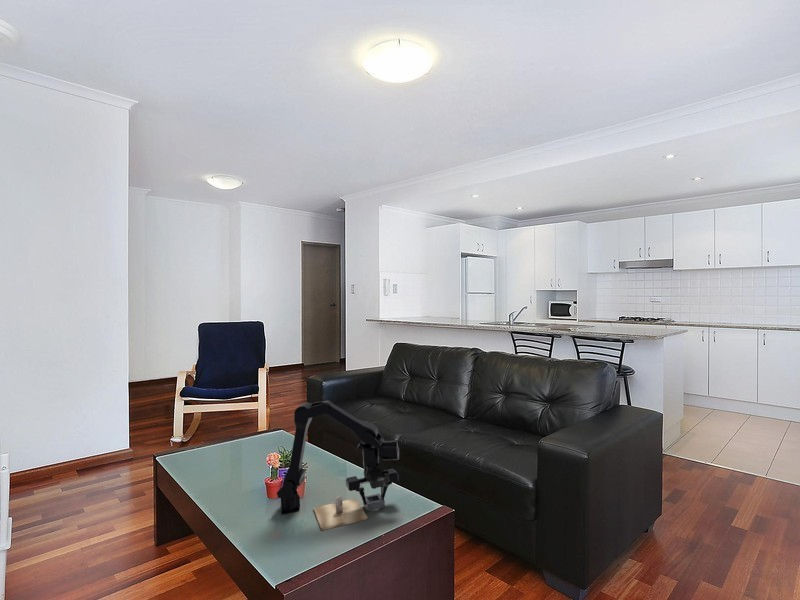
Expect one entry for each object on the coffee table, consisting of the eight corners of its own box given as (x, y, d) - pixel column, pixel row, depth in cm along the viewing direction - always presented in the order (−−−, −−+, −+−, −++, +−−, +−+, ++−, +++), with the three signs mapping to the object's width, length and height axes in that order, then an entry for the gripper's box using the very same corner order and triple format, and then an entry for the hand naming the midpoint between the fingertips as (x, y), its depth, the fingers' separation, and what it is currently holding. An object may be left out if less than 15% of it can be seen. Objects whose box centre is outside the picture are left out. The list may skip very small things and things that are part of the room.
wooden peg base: (321, 530, 150) (320, 511, 150) (313, 509, 165) (312, 492, 165) (367, 519, 156) (366, 501, 155) (355, 500, 171) (354, 483, 170)
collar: (367, 511, 159) (367, 504, 159) (363, 503, 166) (362, 497, 165) (385, 507, 162) (384, 500, 162) (379, 499, 168) (379, 493, 168)
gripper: (351, 472, 153) (354, 518, 153) (402, 462, 159) (405, 506, 159) (343, 462, 163) (346, 504, 163) (392, 452, 170) (394, 493, 170)
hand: (373, 502), depth 164 cm, fingers closed on collar, 6 cm apart
